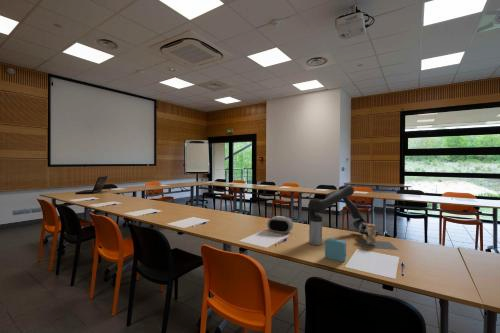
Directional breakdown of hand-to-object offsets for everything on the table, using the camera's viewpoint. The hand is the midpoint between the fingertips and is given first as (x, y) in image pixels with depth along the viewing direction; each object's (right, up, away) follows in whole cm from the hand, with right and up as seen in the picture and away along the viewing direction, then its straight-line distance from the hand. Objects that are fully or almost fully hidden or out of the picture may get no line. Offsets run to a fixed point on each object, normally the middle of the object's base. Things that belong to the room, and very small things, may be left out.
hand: (371, 235), depth 180 cm
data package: (-35, -9, -23) cm, 43 cm away
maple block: (0, -7, +3) cm, 7 cm away
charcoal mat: (+5, -8, +3) cm, 10 cm away
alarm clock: (-63, -7, +35) cm, 72 cm away
